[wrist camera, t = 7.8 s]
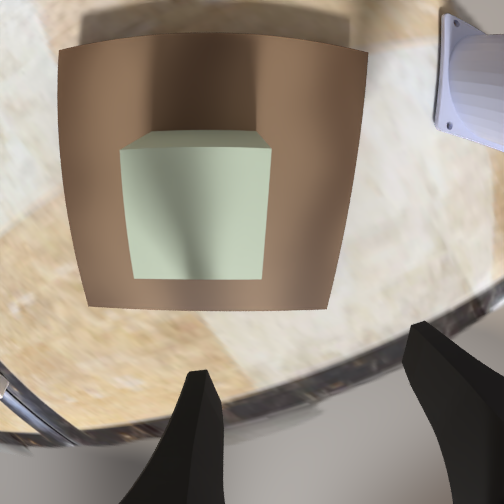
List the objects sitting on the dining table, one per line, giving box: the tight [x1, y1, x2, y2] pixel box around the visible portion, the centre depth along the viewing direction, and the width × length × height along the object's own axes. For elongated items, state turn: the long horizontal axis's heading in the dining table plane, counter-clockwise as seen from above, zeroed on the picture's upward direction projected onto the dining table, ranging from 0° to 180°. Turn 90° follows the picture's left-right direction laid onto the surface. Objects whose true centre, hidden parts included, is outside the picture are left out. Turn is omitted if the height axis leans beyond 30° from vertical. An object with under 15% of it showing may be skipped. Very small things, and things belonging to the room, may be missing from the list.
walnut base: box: [57, 33, 368, 311], centre depth 15 cm, size 14×14×2 cm
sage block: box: [120, 130, 272, 280], centre depth 12 cm, size 4×4×4 cm
